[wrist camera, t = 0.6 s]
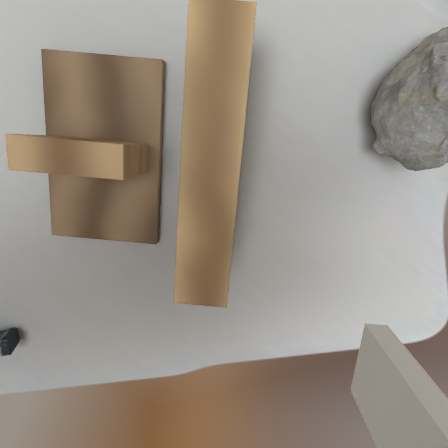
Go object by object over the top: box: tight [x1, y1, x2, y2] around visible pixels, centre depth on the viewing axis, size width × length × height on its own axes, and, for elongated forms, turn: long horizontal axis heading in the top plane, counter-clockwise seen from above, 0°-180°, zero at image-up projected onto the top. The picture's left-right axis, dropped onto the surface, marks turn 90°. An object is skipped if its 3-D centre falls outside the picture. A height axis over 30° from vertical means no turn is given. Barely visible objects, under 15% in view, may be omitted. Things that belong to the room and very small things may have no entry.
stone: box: [371, 27, 448, 171], centre depth 22 cm, size 9×7×10 cm
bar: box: [174, 0, 257, 307], centre depth 23 cm, size 4×20×4 cm, turn 175°
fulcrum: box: [6, 49, 165, 244], centre depth 25 cm, size 10×16×8 cm, turn 175°
